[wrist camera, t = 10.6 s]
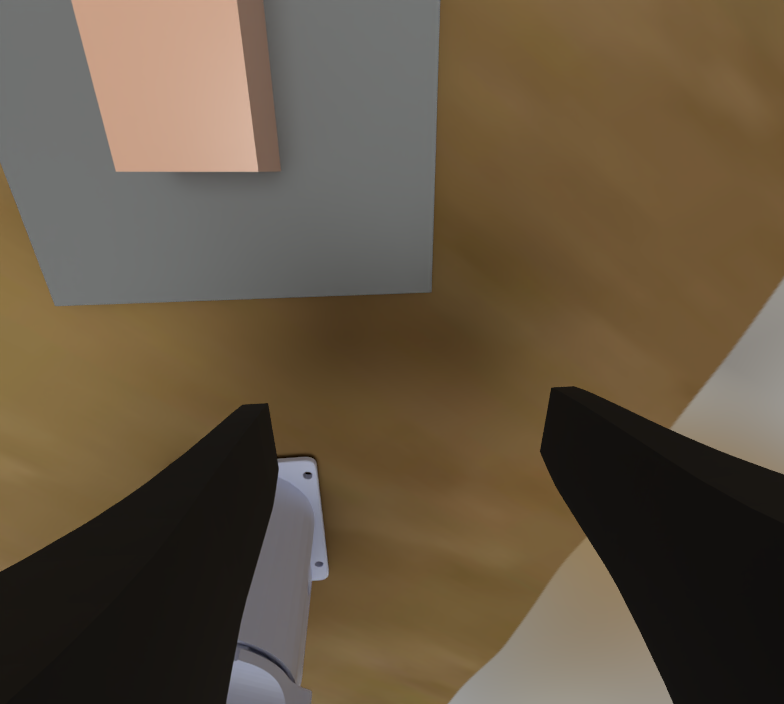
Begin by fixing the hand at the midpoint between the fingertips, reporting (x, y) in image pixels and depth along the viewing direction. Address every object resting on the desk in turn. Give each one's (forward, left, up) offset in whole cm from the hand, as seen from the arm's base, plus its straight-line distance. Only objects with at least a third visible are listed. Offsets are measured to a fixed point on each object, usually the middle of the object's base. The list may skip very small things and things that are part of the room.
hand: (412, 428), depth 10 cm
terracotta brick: (+9, +6, -9) cm, 14 cm away
